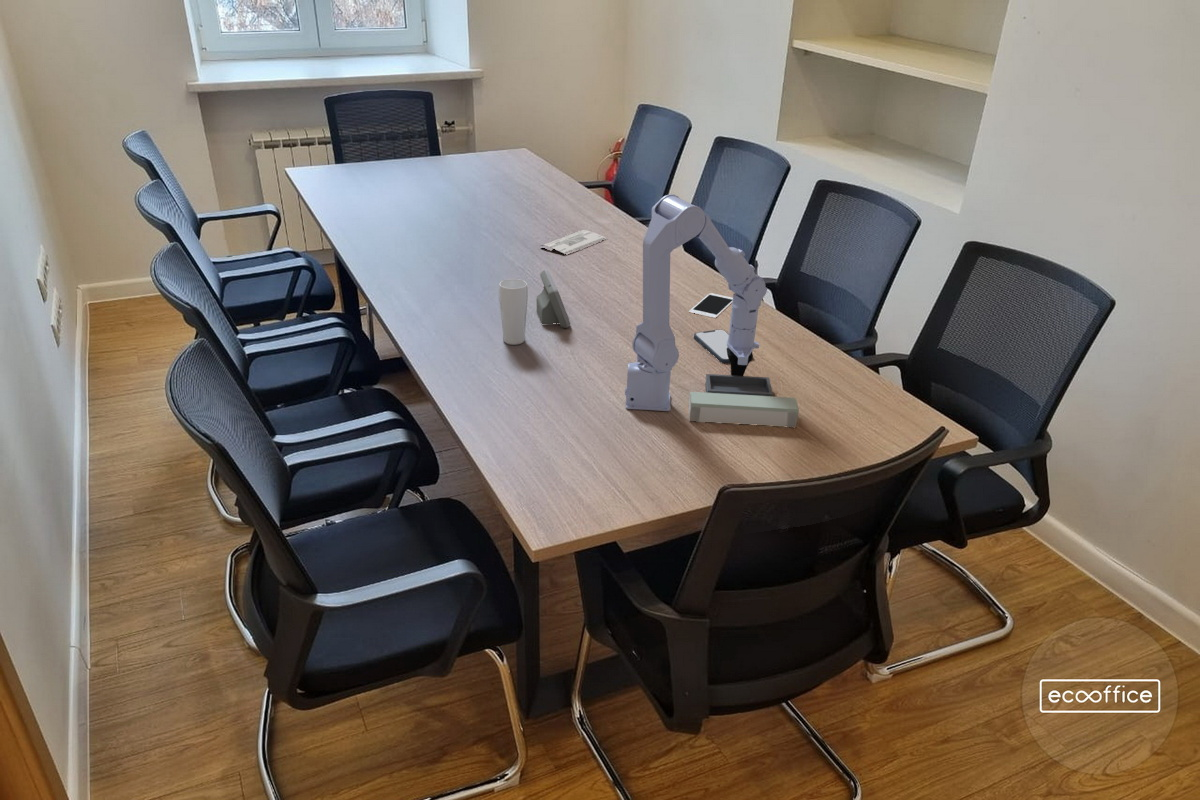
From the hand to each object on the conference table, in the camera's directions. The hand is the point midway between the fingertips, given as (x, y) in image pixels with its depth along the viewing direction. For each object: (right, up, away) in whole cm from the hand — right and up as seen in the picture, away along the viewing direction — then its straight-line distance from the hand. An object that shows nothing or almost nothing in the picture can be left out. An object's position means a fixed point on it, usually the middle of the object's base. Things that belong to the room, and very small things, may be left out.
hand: (736, 379), depth 197 cm
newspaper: (-40, +45, +83) cm, 103 cm away
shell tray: (0, -3, -4) cm, 5 cm away
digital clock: (-43, +17, +30) cm, 55 cm away
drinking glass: (-52, +10, +17) cm, 55 cm away
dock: (-1, -8, -13) cm, 15 cm away
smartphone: (-1, +8, +17) cm, 19 cm away
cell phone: (0, +21, +41) cm, 46 cm away
